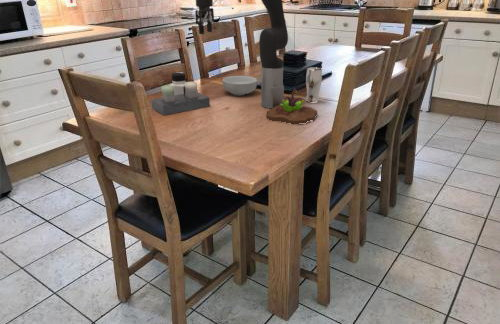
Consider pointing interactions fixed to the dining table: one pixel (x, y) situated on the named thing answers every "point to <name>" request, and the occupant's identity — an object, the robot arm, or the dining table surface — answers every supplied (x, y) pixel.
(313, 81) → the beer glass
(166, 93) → the knob
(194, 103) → the mount
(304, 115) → the plant
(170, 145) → the dining table surface
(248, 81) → the cereal bowl
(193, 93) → the whitish grey jar
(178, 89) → the medicine bottle
